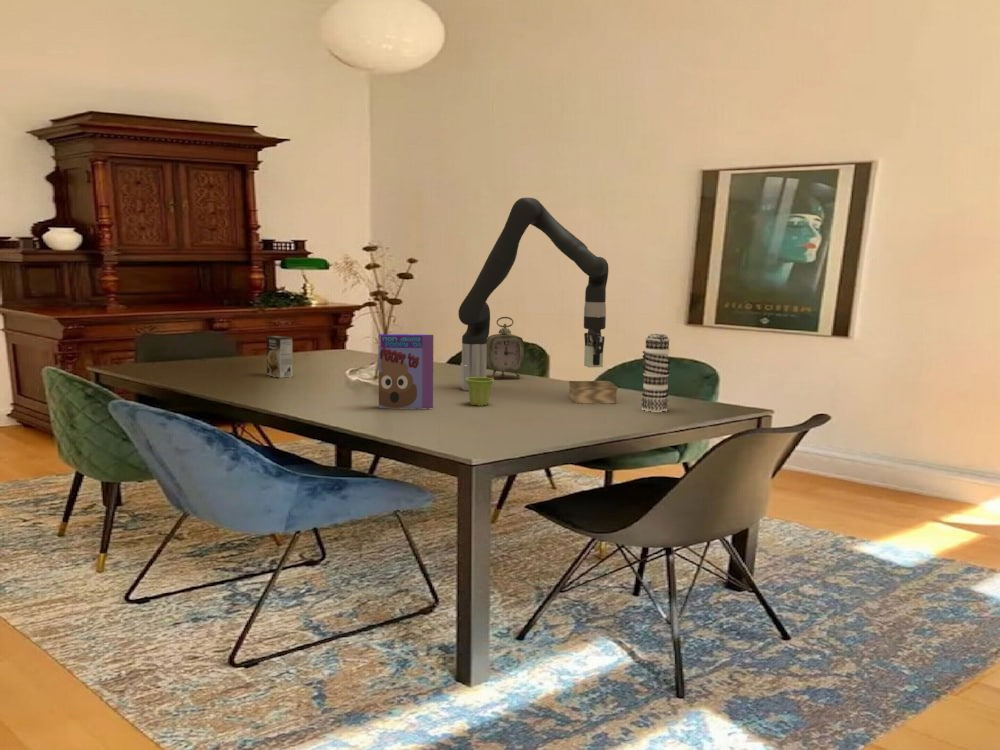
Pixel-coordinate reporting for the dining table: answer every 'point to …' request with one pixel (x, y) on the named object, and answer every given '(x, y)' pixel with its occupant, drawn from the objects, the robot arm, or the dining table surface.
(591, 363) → the sage block
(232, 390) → the dining table surface
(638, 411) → the dining table surface
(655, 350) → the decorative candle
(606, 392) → the oak box
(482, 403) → the plant pot
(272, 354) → the coffee box
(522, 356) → the tabletop clock
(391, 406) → the cereal box
